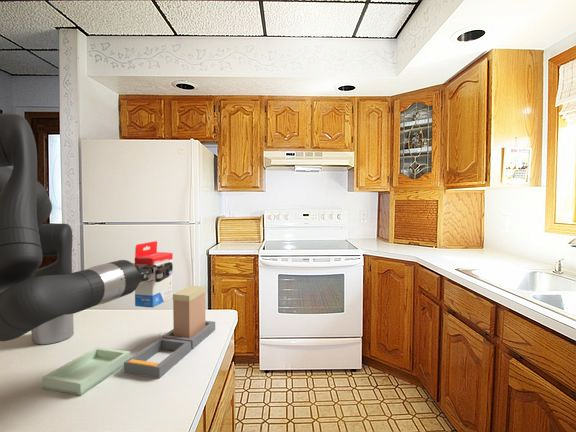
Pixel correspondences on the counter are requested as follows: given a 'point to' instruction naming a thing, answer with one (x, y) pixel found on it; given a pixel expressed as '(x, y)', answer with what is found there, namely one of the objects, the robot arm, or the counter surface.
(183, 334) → the cartridge
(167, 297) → the ink box
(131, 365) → the grey holder frame
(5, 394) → the counter surface
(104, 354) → the tray
